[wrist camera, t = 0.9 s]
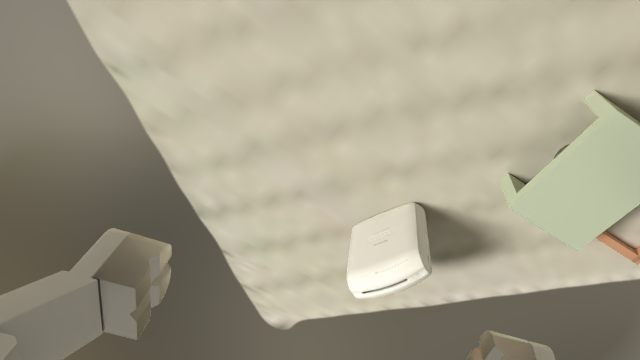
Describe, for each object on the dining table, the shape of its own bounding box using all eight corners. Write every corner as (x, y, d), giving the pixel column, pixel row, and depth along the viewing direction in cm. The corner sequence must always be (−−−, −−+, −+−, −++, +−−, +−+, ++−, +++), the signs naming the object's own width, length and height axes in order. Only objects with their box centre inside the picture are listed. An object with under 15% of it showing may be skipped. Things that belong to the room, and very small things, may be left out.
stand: (594, 89, 46) (617, 110, 41) (662, 138, 48) (693, 164, 43) (499, 181, 53) (509, 208, 48) (561, 221, 55) (577, 251, 50)
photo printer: (417, 196, 56) (422, 260, 46) (431, 220, 58) (439, 288, 47) (348, 223, 60) (337, 288, 50) (363, 245, 62) (356, 313, 51)
